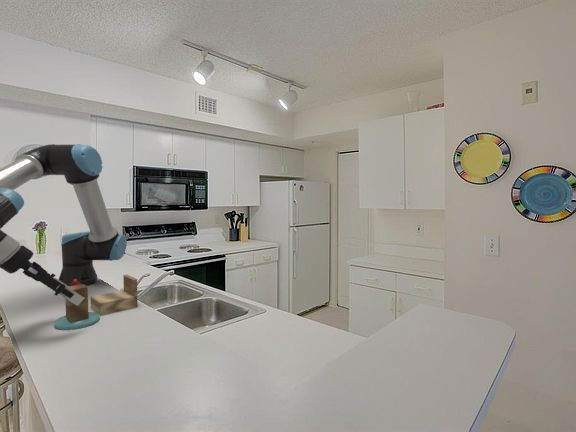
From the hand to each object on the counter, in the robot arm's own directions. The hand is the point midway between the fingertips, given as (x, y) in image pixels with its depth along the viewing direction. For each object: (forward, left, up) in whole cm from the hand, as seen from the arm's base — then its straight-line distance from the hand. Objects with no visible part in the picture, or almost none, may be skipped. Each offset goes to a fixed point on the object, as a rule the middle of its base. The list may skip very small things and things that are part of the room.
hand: (74, 297), depth 102 cm
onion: (-25, -11, -8) cm, 29 cm away
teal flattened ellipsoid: (0, 0, -8) cm, 8 cm away
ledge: (-13, +6, -8) cm, 17 cm away
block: (0, 0, -7) cm, 7 cm away
